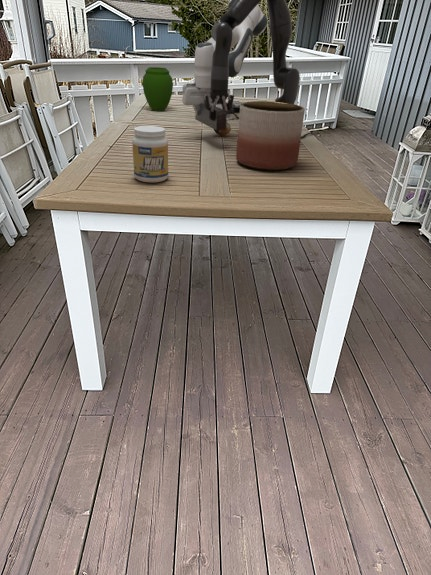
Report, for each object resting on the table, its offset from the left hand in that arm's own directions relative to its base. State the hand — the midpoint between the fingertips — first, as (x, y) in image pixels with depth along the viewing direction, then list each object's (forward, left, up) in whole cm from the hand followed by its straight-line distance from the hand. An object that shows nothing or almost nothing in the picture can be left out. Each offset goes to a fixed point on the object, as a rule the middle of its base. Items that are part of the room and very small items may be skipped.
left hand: (202, 114), depth 197 cm
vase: (-24, -80, -11) cm, 84 cm away
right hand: (+5, +17, +1) cm, 18 cm away
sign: (-79, -62, -11) cm, 101 cm away
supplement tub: (+54, +42, -11) cm, 70 cm away
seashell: (-14, -1, -11) cm, 18 cm away
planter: (+3, +49, -11) cm, 50 cm away
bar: (+2, +9, -3) cm, 9 cm away
